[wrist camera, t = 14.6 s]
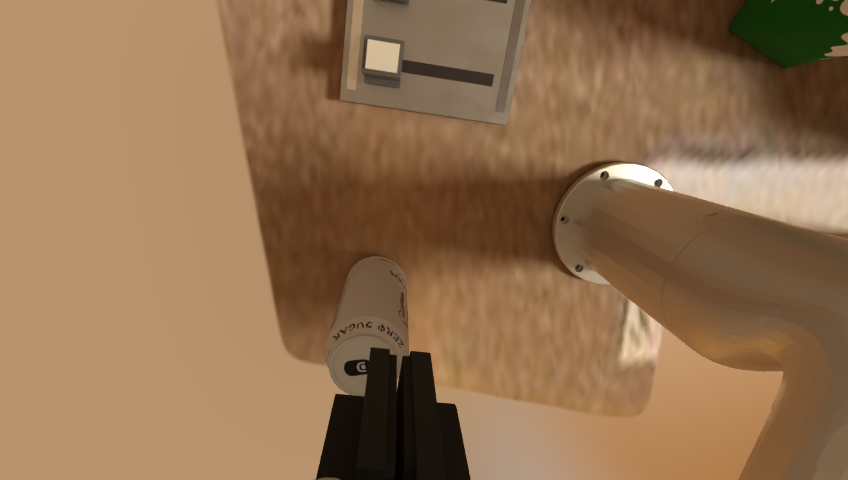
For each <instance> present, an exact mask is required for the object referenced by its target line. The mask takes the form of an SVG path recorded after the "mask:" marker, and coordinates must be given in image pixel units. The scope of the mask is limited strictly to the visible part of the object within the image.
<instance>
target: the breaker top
mask: <svg viewBox="0 0 848 480" xmlns="http://www.w3.org/2000/svg"><path fill="white" fill-rule="evenodd" d="M404 45H405V41H402V40H396V39H390V38H384V37H378V36H372V35H364V46H363V57H362V68H361V72H362V74H363V75H364V83H371V84H377V85H384V86H390V87H397V88H400V79H401V71H402V62H403V53H404Z"/></svg>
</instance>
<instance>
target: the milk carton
mask: <svg viewBox="0 0 848 480" xmlns="http://www.w3.org/2000/svg"><path fill="white" fill-rule="evenodd" d="M728 30H729V31H731V32H732V33H734V34H735V35H737V36H738V37H740V38H741V39H743V40H744V41H745V42H747V43H748V44H750V45H751V46H753V47H754V48H756V49H757V50H759V51H760V52H761V53H763V54H764V55H766V56H767V57H769V58H770V59H772V60H773V61H774V62H776V63H777V64H779V65H780V66H782V67H783V68H789V67H793V66H798V65H802V64H807V63H812V62H816V61H821V60H826V59H831V58H838V57H845V56H848V0H746V2H745V3H744V5H743V6H742V8H741V10H740V11H739V13H738V14H737V16H736V17H735V19H734V20H733V22H732V23H731V25H730V27H729V28H728Z"/></svg>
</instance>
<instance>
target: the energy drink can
mask: <svg viewBox="0 0 848 480" xmlns="http://www.w3.org/2000/svg"><path fill="white" fill-rule="evenodd" d="M371 347H375V348H385V349H390V354H392V355H397V379H398V377H399V375H400V368H401V362H402V357H403V356H409V337H408V310H407V284H406V277H405V274H404V272H403V270H402V269H401V267H400V266H399V265H398V264H397V263H396V262H394V261H392V260H391V259H388V258H386V257H381V256H371V257H367V258H364V259H362V260H360V261H359V262H357V263H356V264H355V265H354V266H353V267H352V268H351V270H350V271H349V274H348V276H347V279H346V282H345V286H344V289H343V292H342V295H341V298H340V301H339V304H338V307H337V310H336V313H335V316H334V319H333V322H332V325H331V329H330V332H329V335H328V338H327V341H326V344H325V360H326V363H327V366H328V367H329V370H330V375H331V377H332V379H333V381H334V383H335V384H336V385H337V386H338V387H339V388H340V389H341V390H343V391H344V392H346V393H348V394H350V395H355V396H365V388H366V380H367V372H368V365H369V357H370V349H371Z"/></svg>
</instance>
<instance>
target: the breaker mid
mask: <svg viewBox="0 0 848 480" xmlns="http://www.w3.org/2000/svg"><path fill="white" fill-rule="evenodd" d="M393 1H399V2H404V3H409V0H393Z"/></svg>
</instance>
